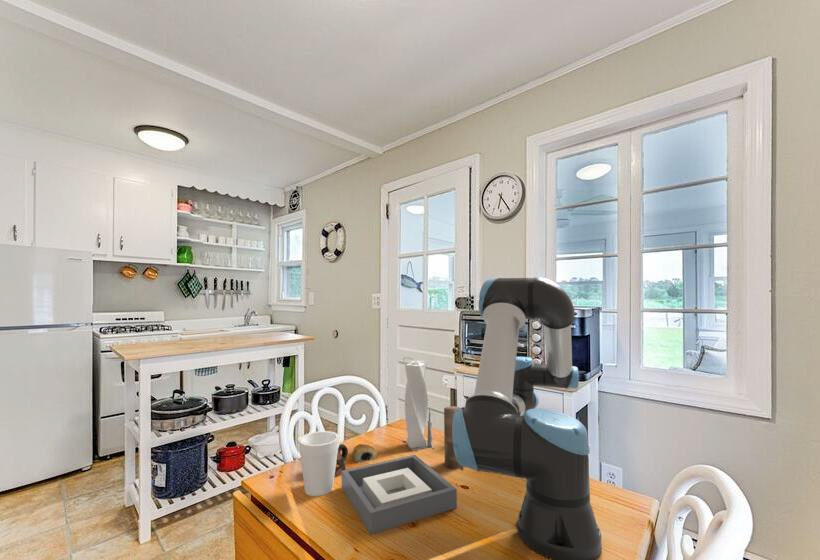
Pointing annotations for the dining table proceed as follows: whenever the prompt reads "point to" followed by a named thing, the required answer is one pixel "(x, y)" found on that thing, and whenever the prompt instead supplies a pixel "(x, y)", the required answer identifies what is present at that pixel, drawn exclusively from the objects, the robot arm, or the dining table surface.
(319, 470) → the foam cup
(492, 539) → the dining table surface
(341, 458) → the pottery mug
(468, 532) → the dining table surface
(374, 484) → the bore plate
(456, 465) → the walnut peg
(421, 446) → the skyscraper
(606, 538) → the dining table surface
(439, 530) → the dining table surface
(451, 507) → the open box
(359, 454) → the pastry
